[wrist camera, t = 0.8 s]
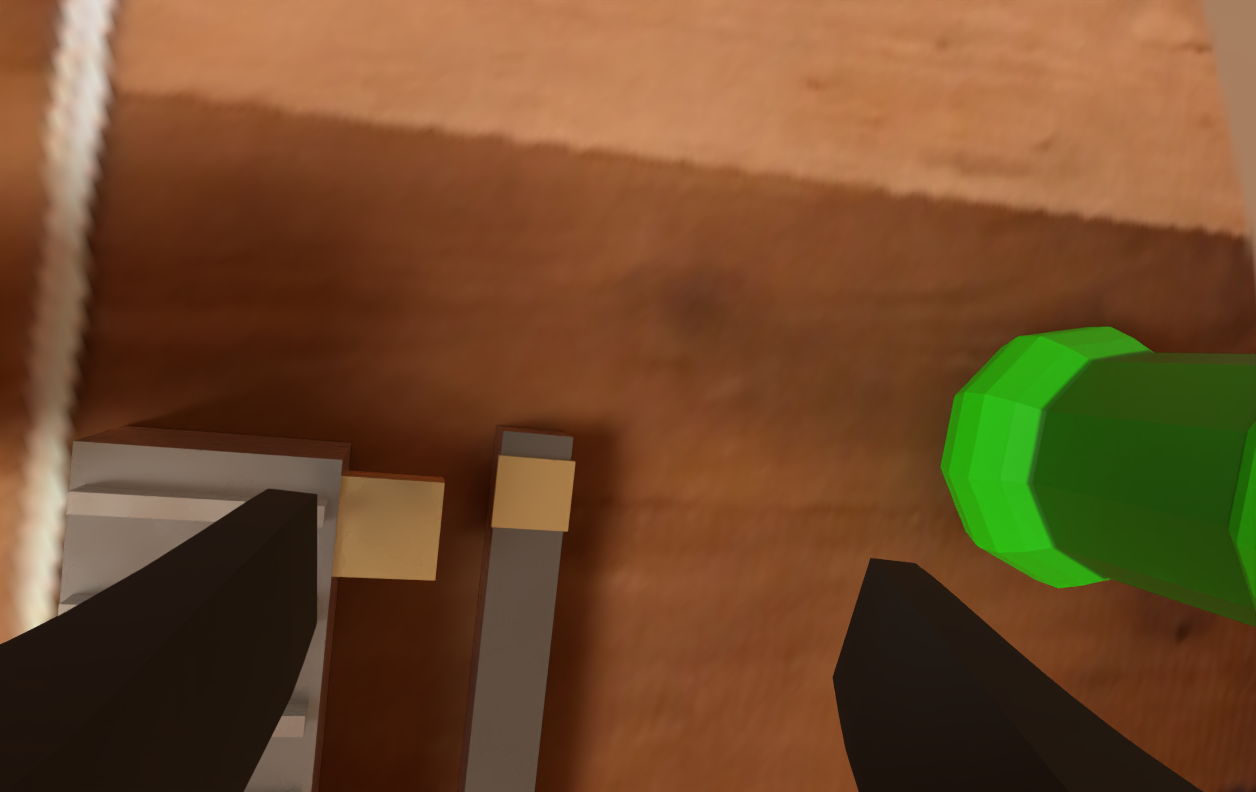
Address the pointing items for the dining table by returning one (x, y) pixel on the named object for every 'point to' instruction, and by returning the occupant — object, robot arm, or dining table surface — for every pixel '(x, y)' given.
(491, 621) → the gray bar
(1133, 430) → the plastic bottle
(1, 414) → the dining table surface
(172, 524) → the heatsink
